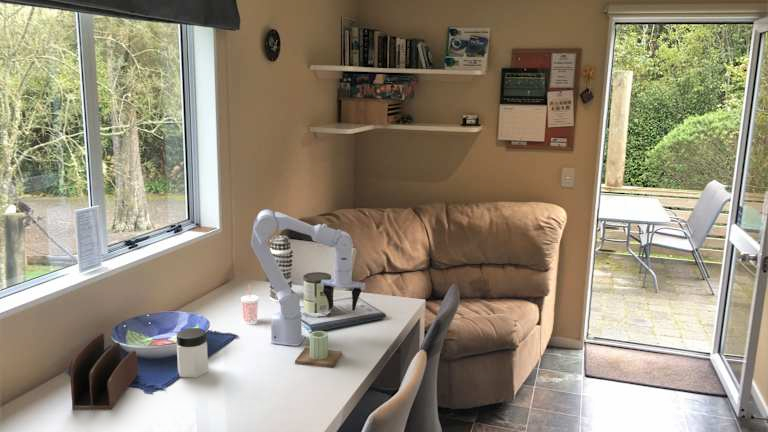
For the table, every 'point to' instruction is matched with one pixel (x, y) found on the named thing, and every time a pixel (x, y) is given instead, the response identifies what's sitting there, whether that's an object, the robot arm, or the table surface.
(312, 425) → the table surface
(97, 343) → the letter holder
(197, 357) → the jar
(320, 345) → the green segmented tube
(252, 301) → the beverage cup
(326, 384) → the table surface
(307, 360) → the spool holder
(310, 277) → the coffee can
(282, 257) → the decorative candle
